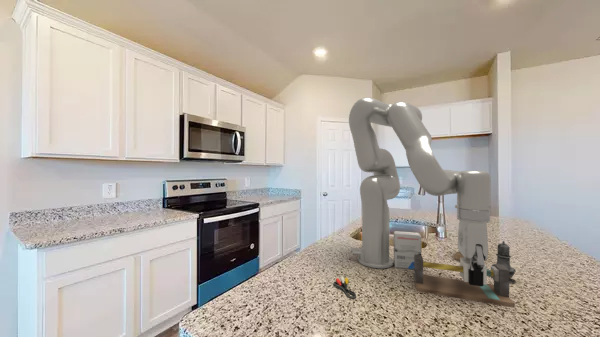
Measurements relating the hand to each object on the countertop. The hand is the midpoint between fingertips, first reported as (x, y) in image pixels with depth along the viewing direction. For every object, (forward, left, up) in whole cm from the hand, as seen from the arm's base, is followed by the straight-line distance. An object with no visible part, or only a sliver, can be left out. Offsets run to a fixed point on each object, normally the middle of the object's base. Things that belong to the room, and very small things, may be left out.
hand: (472, 280), depth 67 cm
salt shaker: (+11, +13, -4) cm, 18 cm away
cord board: (-4, 0, -3) cm, 5 cm away
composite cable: (-34, -12, -4) cm, 36 cm away
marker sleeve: (0, 0, 0) cm, 0 cm away
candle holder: (+5, +28, -4) cm, 29 cm away
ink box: (-16, +13, -4) cm, 21 cm away
